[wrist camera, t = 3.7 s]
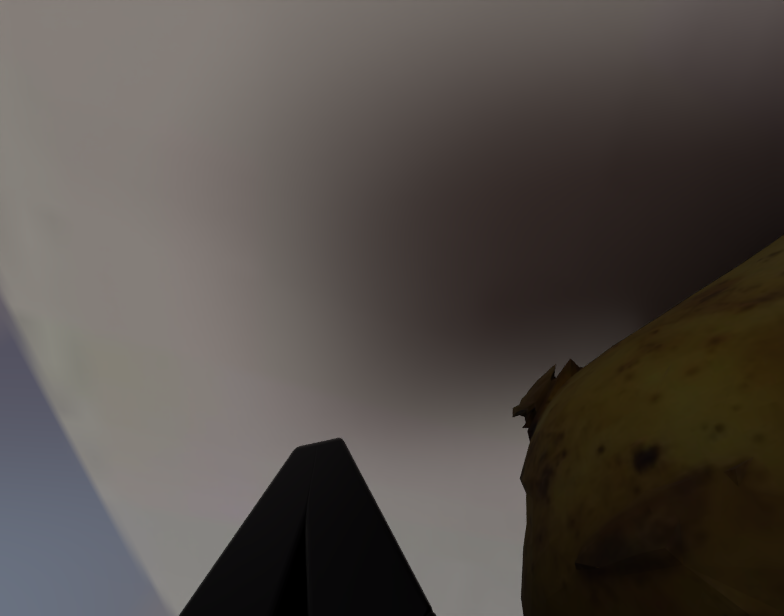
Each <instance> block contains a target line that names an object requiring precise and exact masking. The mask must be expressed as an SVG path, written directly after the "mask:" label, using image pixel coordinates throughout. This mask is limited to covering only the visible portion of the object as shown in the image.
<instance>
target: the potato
mask: <svg viewBox="0 0 784 616" xmlns="http://www.w3.org/2000/svg"><path fill="white" fill-rule="evenodd" d="M555 366H556V364H555V365H554V366H552V367H551V368H550V369H549V370H548V371H547V372H546V373H545V374H544V375H543V376H542V377H541V378H540V379H538V380H537V381H536V383H535V384H534V385H533V386H532V387H531V389H530V390H529V391H528V393H527V394H526V396H525V397H523V398H522V400H521V402H520V404H519V405H518V406H516V407H514V408H513V417H515V416H518V415H521V416H523V417H525V421H526V423H525V425H524V426H523V427H522V428H529V429H528V435H529V440H530V444H529V447H528V451H527V455H526V458H525V462H524V465H523V469H522V472H521V476H520V480H521V482H522V485H523V487H524V489H525V492H526V515H527V525H526V532H525V539H524V546H523V566H522V588H521V601H522V608H523V615H524V616H784V235H782V236H781V237H780V238H778V239H777V240H776V241H774V242H773V243H771V244H770V245H769V246H767V247H766V248H764V249H763V250H761V251H760V252H758V253H757V254H755V255H754V256H752V257H751V258H749V259H748V260H746V261H745V262H743V263H742V264H740V265H739V266H737V267H736V268H734V269H733V270H731V271H730V272H728V273H726V274H725V275H723V276H722V277H720V278H719V279H717V280H715V281H714V282H712V283H711V284H709V285H708V286H706V287H704V288H703V289H701V290H700V291H698V292H697V293H695V294H693V295H692V296H690V297H689V298H687V299H686V300H684V301H683V302H681V303H679V304H678V305H676V306H675V307H673V308H672V309H670V310H669V311H667V312H666V313H664V314H663V315H661V316H659V317H658V318H656V319H655V320H653V321H652V322H650V323H648V324H647V325H645V326H644V327H642V328H641V329H639V330H637V331H636V332H634V333H633V334H631V335H630V336H628V337H627V338H625V339H623V340H622V341H620V342H619V343H617V344H615V345H614V346H612V347H611V348H610V349H608V350H607V351H605V352H604V353H603V354H601V355H600V356H599V357H597V358H596V359H595V360H593V361H592V362H590V363H589V364H588V365H586V366H585V367H584V368H582V367H579V366H578V365H577V364H576V363H575V362H574V361H573V360H572V359H570V360H569V361H568V362H567V364H566V365H565V366H564V368H563V369H562V371H561V372H560V373H559V375H558V376H557V378H556V377H554V373H555Z"/></svg>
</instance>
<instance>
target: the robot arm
mask: <svg viewBox="0 0 784 616" xmlns="http://www.w3.org/2000/svg"><path fill="white" fill-rule="evenodd" d="M179 616H436V614H435V613H434V612H433V611H432V607H431V605H430V603H429V602H428V600H427V598H426V596H425V594H424V592H423V590H422V588H421V586H420V584H419V583H418V581H417V579H416V577H415V575H414V573H413V571H412V569H411V567H410V565H409V564H408V562H407V560H406V558H405V556H404V554H403V552H402V550H401V548H400V547H399V545H398V543H397V541H396V539H395V537H394V535H393V533H392V531H391V529H390V528H389V526H388V524H387V522H386V520H385V518H384V516H383V514H382V512H381V510H380V509H379V507H378V505H377V503H376V501H375V499H374V497H373V495H372V493H371V491H370V490H369V488H368V486H367V484H366V482H365V480H364V478H363V476H362V474H361V473H360V471H359V469H358V467H357V465H356V463H355V461H354V459H353V457H352V455H351V454H350V452H349V450H348V448H347V446H346V444H345V442H344V441H343V439H341V438H335V439H331V440H326V441H321V442H317V443H312V444H308V445H303V446H299V447H297V448H296V449H294V451H293V452H292V453H291V455H290V456H289V458H288V459H287V461H286V462H285V463H284V465H283V466H282V468H281V469H280V471H279V472H278V474H277V475H276V476H275V478H274V479H273V481H272V482H271V484H270V485H269V486H268V488H267V489H266V491H265V492H264V494H263V495H262V497H261V498H260V499H259V501H258V502H257V504H256V505H255V507H254V508H253V510H252V511H251V512H250V514H249V515H248V517H247V518H246V520H245V521H244V523H243V524H242V525H241V527H240V528H239V530H238V531H237V533H236V534H235V535H234V537H233V538H232V540H231V541H230V543H229V544H228V546H227V547H226V548H225V550H224V551H223V553H222V554H221V556H220V557H219V559H218V560H217V561H216V563H215V564H214V566H213V567H212V569H211V570H210V572H209V573H208V574H207V576H206V577H205V579H204V580H203V582H202V583H201V584H200V586H199V587H198V589H197V590H196V592H195V593H194V595H193V596H192V597H191V599H190V600H189V602H188V603H187V605H186V606H185V608H184V609H183V610H182V612H181V613H180V615H179Z"/></svg>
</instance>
